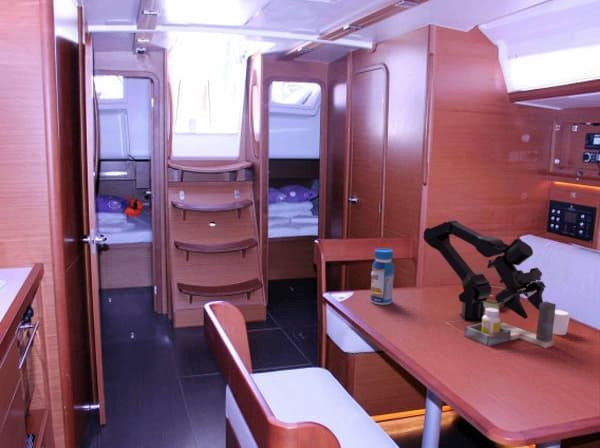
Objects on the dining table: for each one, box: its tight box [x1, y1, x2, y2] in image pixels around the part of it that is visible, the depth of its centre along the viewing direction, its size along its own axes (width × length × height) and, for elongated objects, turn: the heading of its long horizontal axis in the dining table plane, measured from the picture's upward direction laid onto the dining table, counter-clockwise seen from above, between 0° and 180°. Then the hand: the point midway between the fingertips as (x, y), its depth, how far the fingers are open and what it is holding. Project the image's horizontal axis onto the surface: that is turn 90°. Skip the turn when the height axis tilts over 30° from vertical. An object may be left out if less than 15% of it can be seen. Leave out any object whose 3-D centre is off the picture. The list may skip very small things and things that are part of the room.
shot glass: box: [552, 308, 571, 336], centre depth 178 cm, size 7×7×7 cm
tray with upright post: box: [463, 301, 557, 349], centre depth 169 cm, size 19×18×13 cm
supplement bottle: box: [481, 308, 502, 335], centre depth 170 cm, size 5×5×10 cm
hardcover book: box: [483, 285, 506, 312], centre depth 209 cm, size 12×21×4 cm, turn 148°
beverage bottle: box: [370, 247, 395, 306], centre depth 204 cm, size 8×8×20 cm
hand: (535, 315), depth 169 cm, fingers open, 9 cm apart
